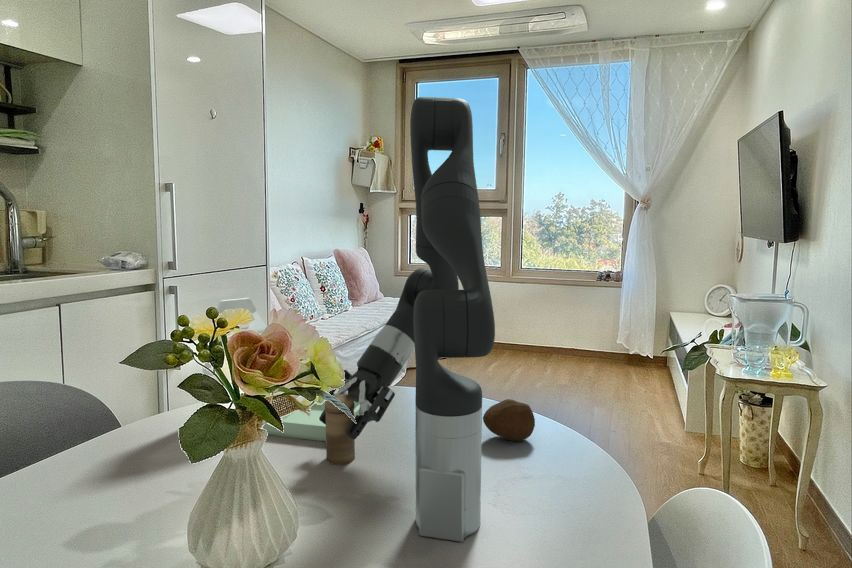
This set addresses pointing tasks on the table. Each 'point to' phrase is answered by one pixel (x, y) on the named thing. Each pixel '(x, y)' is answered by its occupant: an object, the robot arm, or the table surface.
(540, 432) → the table surface
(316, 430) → the bin
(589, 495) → the table surface
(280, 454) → the table surface
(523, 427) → the potato
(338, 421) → the pepper mill
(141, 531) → the table surface
